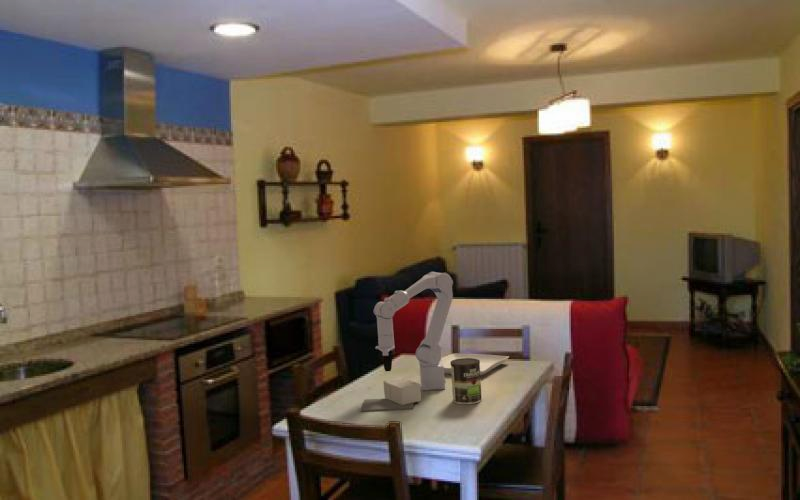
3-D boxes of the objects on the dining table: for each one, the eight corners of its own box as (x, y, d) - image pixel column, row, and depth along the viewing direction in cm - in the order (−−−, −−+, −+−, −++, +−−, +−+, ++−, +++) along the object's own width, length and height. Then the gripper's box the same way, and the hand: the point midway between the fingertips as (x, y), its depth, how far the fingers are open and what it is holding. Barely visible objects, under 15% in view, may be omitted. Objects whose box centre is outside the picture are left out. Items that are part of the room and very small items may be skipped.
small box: (384, 398, 263) (401, 405, 251) (382, 380, 262) (400, 387, 251) (403, 393, 267) (421, 401, 255) (402, 376, 266) (420, 383, 255)
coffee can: (487, 401, 252) (485, 361, 251) (462, 406, 248) (460, 366, 247) (471, 394, 262) (469, 356, 261) (447, 400, 257) (444, 361, 256)
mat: (413, 398, 262) (413, 396, 262) (413, 409, 249) (412, 407, 249) (364, 401, 262) (364, 399, 262) (360, 411, 249) (360, 410, 249)
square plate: (510, 364, 306) (510, 355, 306) (483, 380, 282) (483, 370, 282) (453, 360, 320) (452, 351, 320) (423, 375, 296) (422, 365, 296)
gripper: (376, 331, 273) (378, 366, 274) (373, 338, 259) (375, 376, 259) (395, 330, 273) (397, 365, 274) (392, 337, 258) (395, 375, 259)
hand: (388, 370), depth 266 cm, fingers closed
